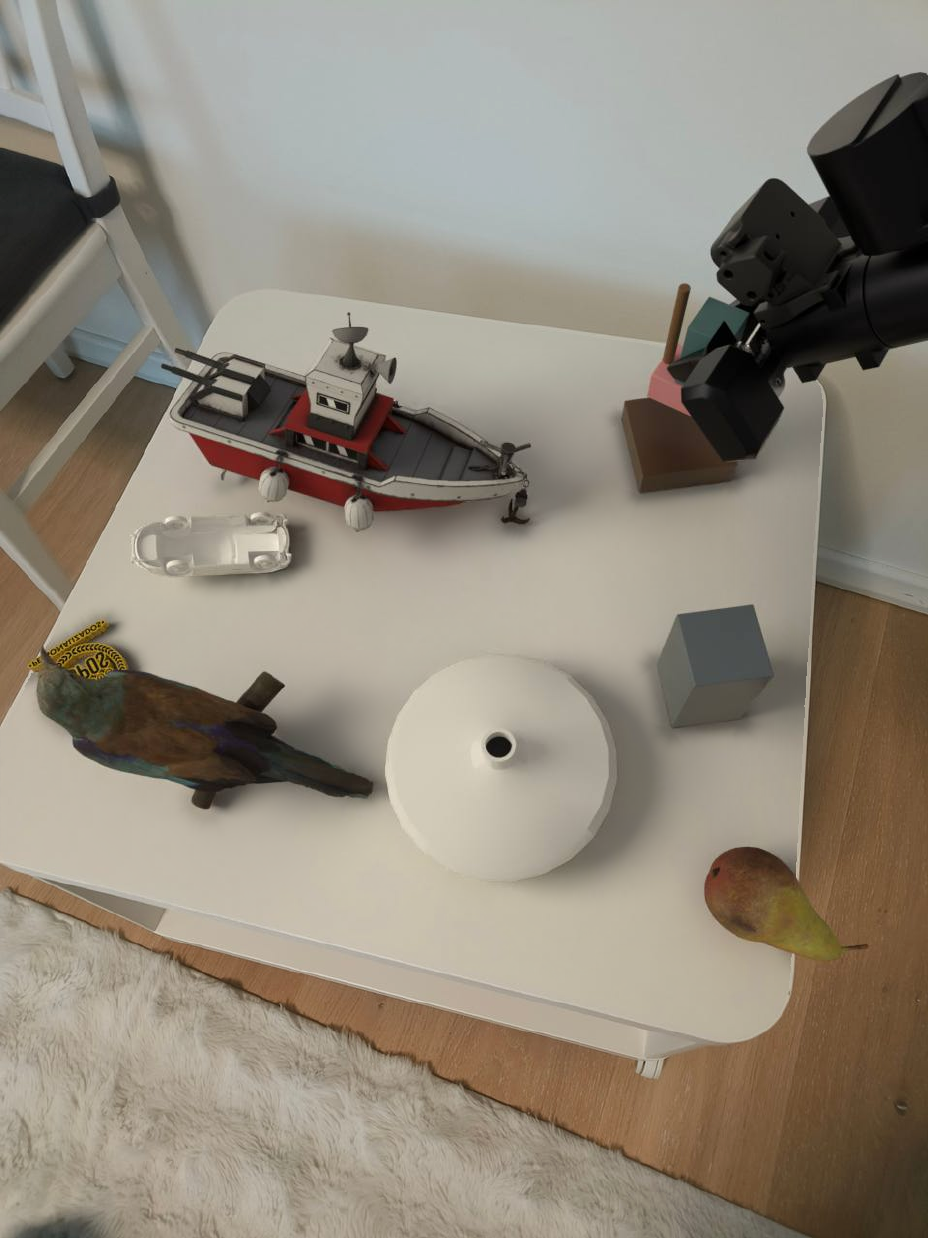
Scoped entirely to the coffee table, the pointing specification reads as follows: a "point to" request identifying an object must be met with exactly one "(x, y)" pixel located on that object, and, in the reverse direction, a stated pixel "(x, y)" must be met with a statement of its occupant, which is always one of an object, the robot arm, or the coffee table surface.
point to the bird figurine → (183, 733)
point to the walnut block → (669, 448)
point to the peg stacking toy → (691, 342)
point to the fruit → (768, 905)
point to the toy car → (213, 545)
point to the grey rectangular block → (713, 665)
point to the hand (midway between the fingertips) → (682, 354)
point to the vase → (501, 767)
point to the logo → (85, 654)
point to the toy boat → (339, 435)
